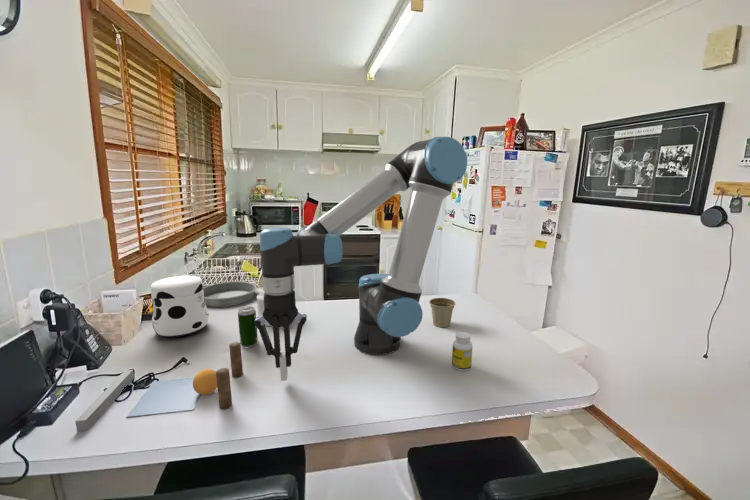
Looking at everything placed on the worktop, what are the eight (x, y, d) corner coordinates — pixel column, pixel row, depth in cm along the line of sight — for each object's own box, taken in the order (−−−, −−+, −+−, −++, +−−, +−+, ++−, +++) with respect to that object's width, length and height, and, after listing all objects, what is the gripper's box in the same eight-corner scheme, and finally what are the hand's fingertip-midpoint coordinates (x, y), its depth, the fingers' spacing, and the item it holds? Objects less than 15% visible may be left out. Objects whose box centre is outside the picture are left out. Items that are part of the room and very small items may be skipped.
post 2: (243, 371, 96) (241, 341, 94) (241, 377, 93) (239, 346, 91) (233, 372, 95) (230, 342, 93) (230, 378, 93) (228, 347, 91)
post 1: (233, 401, 83) (230, 367, 81) (230, 409, 80) (227, 374, 78) (221, 402, 82) (217, 368, 81) (217, 410, 80) (214, 375, 78)
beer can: (242, 349, 108) (239, 313, 106) (238, 343, 113) (235, 308, 110) (260, 345, 111) (257, 310, 109) (255, 338, 116) (253, 304, 113)
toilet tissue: (252, 322, 129) (250, 296, 127) (277, 312, 139) (276, 288, 137) (271, 328, 123) (269, 302, 121) (296, 317, 133) (295, 293, 131)
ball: (227, 373, 89) (207, 360, 88) (221, 386, 84) (200, 373, 82) (211, 389, 90) (191, 377, 88) (205, 404, 84) (183, 391, 82)
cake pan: (219, 313, 139) (218, 302, 138) (186, 301, 152) (185, 291, 151) (268, 296, 159) (268, 286, 158) (235, 287, 172) (234, 278, 171)
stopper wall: (134, 378, 93) (133, 369, 92) (87, 430, 73) (85, 420, 73) (126, 378, 92) (124, 370, 92) (77, 431, 73) (75, 421, 73)
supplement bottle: (447, 364, 100) (449, 332, 98) (462, 360, 102) (464, 329, 100) (459, 373, 95) (461, 340, 93) (475, 369, 97) (477, 337, 95)
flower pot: (425, 327, 125) (426, 304, 123) (431, 317, 133) (432, 296, 132) (451, 331, 121) (453, 308, 120) (456, 321, 130) (457, 299, 128)
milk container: (220, 322, 128) (215, 276, 125) (185, 344, 112) (178, 291, 108) (180, 318, 132) (175, 273, 129) (141, 338, 116) (133, 287, 112)
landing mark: (210, 376, 93) (210, 376, 93) (193, 410, 80) (193, 409, 80) (153, 382, 91) (153, 381, 91) (126, 417, 77) (126, 416, 77)
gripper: (248, 297, 80) (255, 388, 85) (306, 294, 82) (309, 383, 87) (254, 287, 87) (260, 372, 92) (306, 285, 90) (309, 367, 94)
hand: (284, 377), depth 90 cm, fingers closed
